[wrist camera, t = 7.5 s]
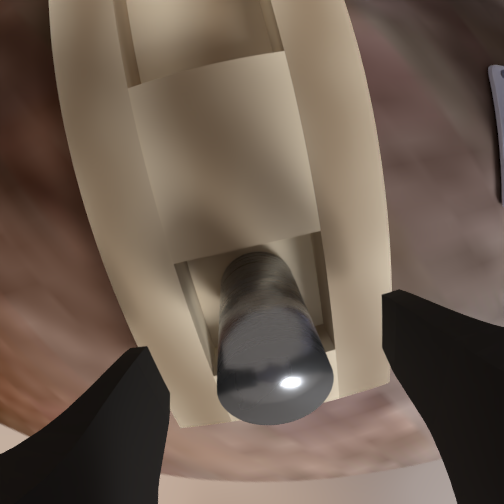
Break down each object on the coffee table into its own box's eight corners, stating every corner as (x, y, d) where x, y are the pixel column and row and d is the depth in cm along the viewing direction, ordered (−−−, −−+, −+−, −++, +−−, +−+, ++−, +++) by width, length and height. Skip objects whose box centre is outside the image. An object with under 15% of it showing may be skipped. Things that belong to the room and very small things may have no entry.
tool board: (286, -76, 9) (296, -111, 6) (368, 347, 16) (389, 382, 13) (76, -25, 9) (48, -50, 6) (186, 387, 16) (180, 428, 13)
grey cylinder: (287, 244, 13) (329, 329, 7) (298, 308, 14) (335, 411, 8) (212, 260, 13) (202, 356, 7) (230, 323, 14) (232, 432, 8)
